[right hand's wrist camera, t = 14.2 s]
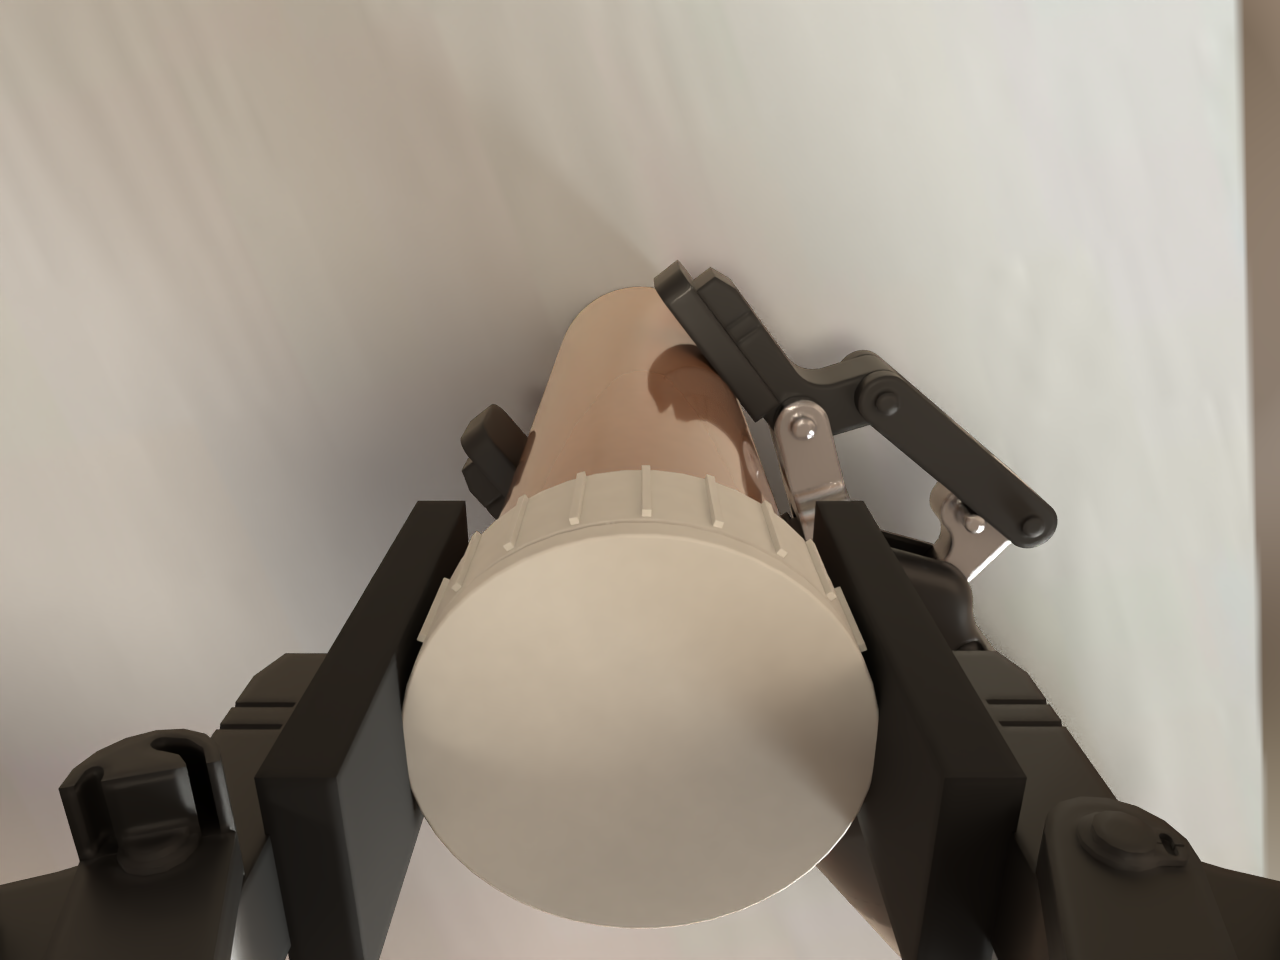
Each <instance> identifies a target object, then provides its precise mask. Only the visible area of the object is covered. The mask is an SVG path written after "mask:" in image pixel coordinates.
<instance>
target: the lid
mask: <svg viewBox="0 0 1280 960" xmlns="http://www.w3.org/2000/svg"><path fill="white" fill-rule="evenodd" d="M417 640H418V641H420V642H423V645H422V647H421V649H420V651H419V654H418V656H417V658H416V661H415V664H414V666H413V669H412V672H411V674H410V677H409V680H408V682H407V685H406V690H405V695H404V700H403V705H402V721H403V732H404V740H405V749H406V757H407V766H408V774H409V781H410V787H411V790H412V792H413V794H414V797H415V799H416V801H417V803H418V805H419V808H420V810H421V812H422V814H423V815H424V817H425V818H426V820H427V822H428V823H429V825H430V826H431V828H432V829H433V831H434V832H435V834H436V835H437V836H438V838H439V839H440V840H441V841H442V842H443V844H444V845H445V846H446V847H447V848H448V849H449V851H450V852H451V853H452V854H453V855H454V856H455V857H456V858H457V859H458V860H459V861H460V862H462V863H463V864H464V865H465V866H466V867H467V868H468V869H469V870H470V871H471V872H473V873H474V874H475V875H477V876H478V877H479V878H481V879H482V880H484V881H485V882H486V883H488V884H489V885H491V886H492V887H493V888H495V889H497V890H499V891H500V892H502V893H504V894H506V895H508V896H509V897H511V898H513V899H515V900H517V901H518V902H521V903H523V904H526V905H528V906H530V907H533V908H535V909H537V910H540V911H542V912H545V913H548V914H551V915H555V916H558V917H561V918H564V919H568V920H571V921H576V922H581V923H586V924H592V925H597V926H605V927H616V928H626V929H648V928H665V927H675V926H684V925H689V924H694V923H699V922H704V921H709V920H713V919H716V918H719V917H722V916H726V915H729V914H732V913H735V912H738V911H741V910H743V909H745V908H748V907H750V906H752V905H755V904H757V903H759V902H762V901H764V900H766V899H767V898H769V897H771V896H773V895H774V894H776V893H778V892H780V891H781V890H783V889H785V888H787V887H788V886H790V885H791V884H792V883H794V882H795V881H796V880H798V879H799V878H801V877H802V876H803V875H805V874H806V873H808V872H809V871H810V870H811V869H812V868H813V867H814V866H815V865H816V864H818V863H819V862H820V861H821V860H822V859H823V858H824V857H825V856H826V855H827V854H828V853H829V852H830V851H831V850H832V849H833V847H834V846H835V845H836V844H837V843H838V841H839V840H840V839H841V838H842V837H843V835H844V834H845V833H846V831H847V830H848V828H849V827H850V825H851V823H852V822H853V820H854V819H855V817H856V815H857V814H858V812H859V810H860V808H861V806H862V804H863V801H864V799H865V797H866V795H867V792H868V790H869V788H870V784H871V780H872V773H873V766H874V757H875V749H876V740H877V731H878V720H879V709H878V704H877V700H876V695H875V690H874V685H873V682H872V679H871V677H870V674H869V671H868V669H867V666H866V664H865V661H864V658H863V656H862V654H861V652H863V651H866V650H867V647H866V645H865V642H864V640H863V638H862V636H861V633H860V631H859V629H858V626H857V624H856V622H855V619H854V617H853V615H852V613H851V610H850V608H849V606H848V603H847V601H846V599H845V596H844V594H843V592H842V590H841V587H837V588H834V587H833V584H832V582H831V580H830V578H829V576H828V574H827V572H826V569H825V567H824V565H823V562H822V560H821V557H820V555H819V553H818V550H817V548H816V546H815V543H814V542H813V541H812V540H811V539H809V540H808V541H806V542H805V541H804V539H803V538H802V537H801V536H800V535H799V534H798V533H797V532H796V531H795V530H794V529H793V528H792V527H790V526H789V525H788V524H787V523H786V522H785V521H784V520H783V519H782V518H780V517H779V516H778V515H776V514H775V513H774V511H773V508H772V506H771V504H770V503H769V502H767V501H766V500H764V501H763V502H762V504H761V503H759V502H757V501H755V500H754V499H752V498H750V497H748V496H746V495H744V494H742V493H741V492H739V491H737V490H734V489H732V488H729V487H726V486H724V485H721V484H719V483H716V482H715V478H714V476H711V475H708V474H707V475H706V477H705V479H703V478H699V477H695V476H691V475H687V474H682V473H674V472H666V471H657V470H650V465H642V470H622V471H614V472H606V473H599V474H593V475H589V476H586V473H585V471H584V472H580V473H577V476H576V479H574V480H570V481H566V482H564V483H561V484H559V485H556V486H554V487H551V488H549V489H546V490H544V491H541V492H539V493H538V494H536V495H534V496H532V497H530V498H528V497H527V496H526V495H525V494H524V495H523V496H521V497H519V498H518V501H517V504H516V506H515V507H513V508H512V509H511V510H509V511H508V512H507V513H505V514H504V515H503V516H501V517H500V518H499V519H497V520H496V521H495V522H494V523H493V524H492V525H491V526H490V527H489V528H488V529H487V530H486V531H484V532H483V533H482V534H480V533H479V532H478V531H476V532H475V533H474V534H473V535H472V537H471V540H470V542H469V545H468V547H467V550H466V552H465V554H464V556H463V558H462V559H461V560H460V562H459V564H458V566H457V568H456V569H455V571H454V573H453V575H452V577H451V578H450V579H447V578H444V579H443V581H442V583H441V585H440V588H439V590H438V592H437V594H436V597H435V599H434V601H433V604H432V606H431V608H430V611H429V613H428V615H427V617H426V620H425V622H424V624H423V627H422V629H421V631H420V634H419V636H418V638H417Z"/></svg>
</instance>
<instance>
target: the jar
mask: <svg viewBox="0 0 1280 960" xmlns="http://www.w3.org/2000/svg"><path fill="white" fill-rule="evenodd" d="M642 465H650V470H657V471H666V472H674V473H682V474H687V475H691V476H695V477H699V478H703V479H705V477H706V475H707V474H708V475H711V476H714V478H715V482H716V483H719V484H721V485H724V486H726V487H729V488H732V489H734V490H737V491H739V492H741V493H742V494H744V495H746V496H748V497H750V498H752V499H754V500H755V501H757V502H759V503H761V504H762V502H763V501H764V500H766V501H767V502H769V503H770V504H771V506H772V508H773V511H774V513H775V514H776V515H778V516H779V517H780V518H781V516H780V513H779V511H778V508H777V505H776V502H775V500H774V497H773V494H772V491H771V488H770V486H769V483H768V480H767V477H766V475H765V472H764V469H763V466H762V464H761V461H760V458H759V455H758V452H757V450H756V447H755V444H754V441H753V439H752V436H751V433H750V430H749V428H748V425H747V422H746V419H745V416H744V414H743V411H742V408H741V405H740V403H739V401H738V399H737V398H736V397H735V395H734V394H733V392H732V391H731V389H730V388H729V387H728V385H727V384H726V383H725V382H724V381H723V380H722V378H721V377H720V376H719V374H718V373H717V372H716V370H715V369H714V368H713V367H712V365H711V364H710V363H709V361H708V360H707V359H706V357H705V356H704V355H703V353H702V352H701V351H700V350H699V348H698V347H697V346H696V344H695V343H694V342H693V340H692V339H691V338H690V336H689V335H688V334H687V333H686V331H685V330H684V329H683V327H682V326H681V325H680V323H679V322H678V321H677V319H676V318H675V317H674V316H673V314H672V313H671V312H670V310H669V309H668V308H667V306H666V305H665V304H664V302H663V301H662V299H661V298H660V296H659V295H658V293H657V291H656V290H655V288H651V287H630V288H624V289H619V290H615V291H613V292H610V293H607V294H605V295H603V296H601V297H599V298H597V299H596V300H594V301H593V302H592V303H590V304H589V305H587V306H586V307H585V308H584V309H583V310H582V311H581V312H580V313H579V314H578V315H577V317H576V318H575V319H574V320H573V322H572V323H571V325H570V327H569V328H568V330H567V332H566V334H565V336H564V339H563V341H562V344H561V347H560V350H559V352H558V355H557V358H556V361H555V363H554V366H553V369H552V372H551V374H550V377H549V380H548V383H547V386H546V388H545V391H544V394H543V397H542V399H541V402H540V405H539V408H538V410H537V413H536V416H535V419H534V422H533V424H532V427H531V430H530V433H529V435H528V438H527V441H526V444H525V446H524V449H523V452H522V455H521V458H520V460H519V463H518V466H517V469H516V471H515V474H514V477H513V480H512V482H511V485H510V488H509V491H508V494H507V496H506V499H505V502H504V505H503V507H502V510H501V513H500V516H499V518H500V517H501V516H503V515H504V514H505V513H507V512H508V511H509V510H511V509H512V508H513V507H515V506H516V504H517V501H518V498H519V497H521V496H523V495H524V494H525V495H526V496H527V497H528V498H530V497H532V496H534V495H536V494H538V493H539V492H541V491H544V490H546V489H549V488H551V487H554V486H556V485H559V484H561V483H564V482H566V481H570V480H574V479H576V476H577V473H580V472H584V471H585V473H586V476H589V475H593V474H599V473H606V472H614V471H622V470H642ZM499 518H498V519H499Z"/></svg>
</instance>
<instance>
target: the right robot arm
mask: <svg viewBox="0 0 1280 960" xmlns="http://www.w3.org/2000/svg"><path fill="white" fill-rule="evenodd" d="M813 542H814V543H815V546H816V548H817V550H818V553H819V555H820V557H821V560H822V562H823V565H824V567H825V569H826V572H827V574H828V576H829V578H830V580H831V582H832V584H833V587H834V588H837V587H841V590H842V592H843V594H844V596H845V599H846V601H847V603H848V606H849V608H850V610H851V613H852V615H853V617H854V619H855V622H856V624H857V626H858V629H859V631H860V633H861V636H862V638H863V640H864V642H865V645H866V647H867V650H866V651H863V652H861V654H862V656H863V658H864V661H865V664H866V666H867V669H868V671H869V674H870V677H871V679H872V682H873V685H874V690H875V695H876V700H877V704H878V709H879V720H878V731H877V740H876V749H875V757H874V766H873V773H872V780H871V784H870V788H869V790H868V792H867V795H866V797H865V799H864V801H863V804H862V806H861V808H860V810H859V812H858V814H857V817H858V821H859V824H860V827H861V830H862V833H863V837H864V840H865V843H866V846H867V849H868V853H869V856H870V859H871V862H872V865H873V869H874V872H875V875H876V878H877V881H878V885H879V888H880V891H881V894H882V897H883V901H884V904H885V907H886V910H887V913H888V916H889V920H890V923H891V926H892V929H893V932H894V936H895V939H896V942H897V945H898V948H899V952H900V955H901V958H902V960H992V955H993V950H994V952H995V954H996V957H997V959H998V960H1280V881H1276V880H1272V879H1268V878H1263V877H1259V876H1255V875H1250V874H1246V873H1241V872H1237V871H1233V870H1228V869H1224V868H1221V867H1218V866H1214V865H1211V864H1208V863H1204V862H1201V861H1200V859H1199V857H1198V856H1197V854H1196V853H1195V851H1194V850H1193V848H1192V847H1191V845H1190V843H1189V842H1188V840H1187V839H1186V838H1185V837H1183V836H1182V835H1181V834H1180V833H1179V832H1177V831H1176V830H1175V829H1174V828H1173V827H1171V826H1170V825H1169V824H1168V823H1167V822H1165V821H1164V820H1162V819H1160V818H1158V817H1156V816H1155V815H1153V814H1151V813H1149V812H1147V811H1145V810H1143V809H1141V808H1139V807H1137V806H1134V805H1131V804H1127V803H1124V802H1120V801H1118V800H1117V799H1116V797H1115V796H1114V795H1113V793H1112V792H1111V790H1110V789H1109V788H1108V786H1107V785H1106V783H1105V782H1104V781H1103V779H1102V778H1101V776H1100V775H1099V773H1098V772H1097V771H1096V769H1095V768H1094V766H1093V765H1092V764H1091V762H1090V761H1089V759H1088V758H1087V756H1086V755H1085V754H1084V752H1083V751H1082V749H1081V748H1080V747H1079V745H1078V744H1077V742H1076V741H1075V740H1074V738H1073V737H1072V735H1071V734H1070V732H1069V731H1068V730H1067V728H1066V727H1062V724H1061V720H1060V718H1059V717H1058V715H1057V714H1056V713H1055V711H1054V710H1053V708H1052V707H1051V706H1050V705H1047V704H1046V699H1045V697H1044V696H1043V694H1042V693H1041V691H1040V690H1039V689H1038V687H1037V686H1036V684H1035V683H1034V682H1033V680H1032V679H1031V677H1030V676H1029V674H1028V673H1027V672H1025V671H1024V670H1022V669H1021V668H1020V667H1018V666H1017V665H1015V664H1014V663H1012V662H1011V661H1010V660H1008V659H1007V658H1005V657H1004V656H1003V655H1001V654H1000V653H998V652H997V651H952V650H951V648H950V647H949V645H948V643H947V642H946V640H945V638H944V637H943V635H942V633H941V632H940V630H939V628H938V627H937V625H936V623H935V621H934V620H933V618H932V616H931V615H930V613H929V611H928V610H927V608H926V606H925V605H924V603H923V601H922V600H921V598H920V596H919V594H918V593H917V591H916V589H915V588H914V586H913V584H912V583H911V581H910V579H909V578H908V576H907V574H906V573H905V571H904V569H903V567H902V566H901V564H900V562H899V561H898V559H897V557H896V556H895V554H894V552H893V551H892V549H891V547H890V546H889V544H888V542H887V540H886V539H885V537H884V535H883V534H882V532H881V530H880V529H879V527H878V525H877V524H876V522H875V520H874V519H873V517H872V515H871V514H870V512H869V510H868V508H867V507H866V505H865V503H864V502H863V501H816V504H815V517H814V530H813ZM468 545H469V543H468V530H467V517H466V504H465V501H418V502H417V503H416V505H415V507H414V508H413V510H412V512H411V513H410V515H409V517H408V519H407V520H406V522H405V524H404V525H403V527H402V529H401V530H400V532H399V534H398V535H397V537H396V539H395V540H394V542H393V544H392V546H391V547H390V549H389V551H388V552H387V554H386V556H385V557H384V559H383V561H382V562H381V564H380V566H379V567H378V569H377V571H376V573H375V574H374V576H373V578H372V579H371V581H370V583H369V584H368V586H367V588H366V589H365V591H364V593H363V594H362V596H361V598H360V600H359V601H358V603H357V605H356V606H355V608H354V610H353V611H352V613H351V615H350V616H349V618H348V620H347V621H346V623H345V625H344V627H343V628H342V630H341V632H340V633H339V635H338V637H337V638H336V640H335V642H334V643H333V645H332V647H331V648H330V650H329V652H328V653H286V654H284V655H283V656H281V657H280V658H278V659H277V660H276V661H274V662H273V663H271V664H270V665H269V666H267V667H266V668H264V669H263V670H262V671H260V672H259V673H257V674H256V675H255V676H254V677H253V678H252V679H251V681H250V682H249V684H248V685H247V687H246V688H245V689H244V691H243V692H242V694H241V695H240V697H239V698H238V699H237V701H236V702H235V703H236V705H235V707H232V708H231V709H230V711H229V712H228V714H227V715H226V716H225V718H224V719H223V721H222V722H221V724H220V729H219V730H216V731H215V732H214V734H213V735H212V736H211V738H210V737H209V736H208V735H206V734H204V733H200V732H195V731H191V730H187V729H171V730H155V731H152V732H148V733H144V734H140V735H136V736H132V737H128V738H125V739H123V740H121V741H119V742H116V743H114V744H112V745H110V746H108V747H106V748H103V749H101V750H99V751H97V752H96V753H94V754H93V755H91V756H90V757H89V758H87V759H86V760H85V761H83V762H82V763H81V764H79V765H78V766H77V767H75V768H74V769H73V770H72V771H71V773H70V774H69V775H68V777H67V778H66V779H65V781H64V782H63V783H62V785H61V786H60V787H59V792H60V795H61V799H62V802H63V806H64V809H65V812H66V816H67V819H68V823H69V826H70V829H71V833H72V836H73V839H74V843H75V846H76V850H77V853H78V856H79V860H80V862H79V865H78V866H76V867H72V868H69V869H66V870H62V871H59V872H55V873H51V874H46V875H42V876H38V877H33V878H29V879H25V880H20V881H16V882H12V883H7V884H3V885H0V960H285V959H286V956H287V954H288V955H289V960H379V958H380V955H381V951H382V948H383V945H384V942H385V939H386V935H387V932H388V929H389V926H390V923H391V919H392V916H393V913H394V910H395V907H396V903H397V900H398V897H399V894H400V891H401V887H402V884H403V881H404V878H405V875H406V872H407V868H408V865H409V862H410V859H411V856H412V852H413V849H414V846H415V843H416V840H417V836H418V833H419V830H420V827H421V824H422V820H423V817H424V815H423V814H422V812H421V810H420V808H419V805H418V803H417V801H416V799H415V797H414V794H413V792H412V790H411V787H410V781H409V774H408V766H407V757H406V749H405V740H404V732H403V721H402V705H403V700H404V695H405V690H406V685H407V682H408V680H409V677H410V674H411V672H412V669H413V666H414V664H415V661H416V658H417V656H418V654H419V651H420V649H421V647H422V645H423V642H420V641H418V640H417V638H418V636H419V634H420V631H421V629H422V627H423V624H424V622H425V620H426V617H427V615H428V613H429V611H430V608H431V606H432V604H433V601H434V599H435V597H436V594H437V592H438V590H439V588H440V585H441V583H442V581H443V579H444V578H447V579H450V578H451V577H452V575H453V573H454V571H455V569H456V568H457V566H458V564H459V562H460V560H461V559H462V558H463V556H464V554H465V552H466V550H467V547H468Z"/></svg>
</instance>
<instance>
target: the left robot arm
mask: <svg viewBox="0 0 1280 960" xmlns="http://www.w3.org/2000/svg"><path fill="white" fill-rule="evenodd" d="M654 286H655V290H656V291H657V293H658V295H659V296H660V298H661V299H662V301H663V302H664V304H665V305H666V306H667V308H668V309H669V310H670V312H671V313H672V314H673V316H674V317H675V318H676V319H677V321H678V322H679V323H680V325H681V326H682V327H683V329H684V330H685V331H686V333H687V334H688V335H689V336H690V338H691V339H692V340H693V342H694V343H695V344H696V346H697V347H698V348H699V350H700V351H701V352H702V353H703V355H704V356H705V357H706V359H707V360H708V361H709V363H710V364H711V365H712V367H713V368H714V369H715V370H716V372H717V373H718V374H719V376H720V377H721V378H722V380H723V381H724V382H725V383H726V384H727V385H728V387H729V388H730V389H731V391H732V392H733V394H734V395H735V397H736V398H737V399H738V401H739V402H740V403H741V404H742V406H743V407H744V408H745V410H746V411H747V412H748V414H749V415H750V416H751V418H752V419H753V420H754V421H755V422H757V421H758V420H760V419H761V418H762V417H763V418H764V419H765V420H766V422H767V423H768V425H769V429H770V432H771V436H772V440H773V444H774V447H775V451H776V455H777V458H778V462H779V469H780V473H781V477H782V480H783V484H784V488H785V491H786V495H787V499H788V502H789V506H790V510H791V513H792V517H793V518H791V517H790V516H789V514H788V513H787V512H786V513H784V514H783V515H781V518H782V519H783V520H784V521H785V522H786V523H787V524H788V525H789V526H790V527H792V528H793V529H794V530H795V531H796V532H797V533H798V534H799V535H800V536H801V537H802V538H803V539H804V541H805V542H806V541H808V540H809V539H811V540H812V541H813V530H814V517H815V504H816V501H850V498H849V495H848V492H847V490H846V487H845V484H844V480H843V476H842V472H841V468H840V464H839V460H838V455H837V451H836V447H835V443H834V439H833V435H837V434H840V433H843V432H847V431H850V430H853V429H857V428H860V427H864V426H867V425H871V426H872V427H873V428H875V429H876V430H877V431H878V432H879V433H881V434H882V435H883V436H884V437H885V438H887V439H888V440H889V441H890V442H891V443H893V444H894V445H895V446H896V447H897V448H899V449H900V450H901V451H902V452H903V453H905V454H906V455H907V456H908V457H909V458H911V459H912V460H913V461H914V462H915V463H917V464H918V465H919V466H920V467H921V468H923V469H924V470H925V471H926V472H927V473H929V474H930V475H931V476H932V477H933V478H935V479H936V480H937V481H938V482H937V483H936V485H935V486H934V488H933V489H932V491H931V494H930V500H929V501H930V506H931V509H932V510H933V512H934V513H935V514H936V516H937V517H938V518H939V520H940V523H941V532H940V535H939V538H938V539H937V541H936V542H935V543H934V544H931V543H928V542H925V541H921V540H917V539H913V538H910V537H906V536H902V535H899V534H895V533H891V532H888V531H884V530H881V532H882V534H883V535H884V537H885V539H886V540H887V542H888V544H889V546H890V547H891V549H892V551H893V552H894V554H895V556H896V557H897V559H898V561H899V562H900V564H901V566H902V567H903V569H904V571H905V573H906V574H907V576H908V578H909V579H910V581H911V583H912V584H913V586H914V588H915V589H916V591H917V593H918V594H919V596H920V598H921V600H922V601H923V603H924V605H925V606H926V608H927V610H928V611H929V613H930V615H931V616H932V618H933V620H934V621H935V623H936V625H937V627H938V628H939V630H940V632H941V633H942V635H943V637H944V638H945V640H946V642H947V643H948V645H949V647H950V648H951V650H952V651H995V650H994V648H993V647H992V646H991V644H990V643H989V642H988V640H987V639H986V638H985V636H984V635H983V634H982V632H981V631H980V629H979V628H978V627H977V625H976V623H975V620H974V616H973V595H972V590H971V587H970V584H969V581H970V580H971V579H972V578H973V577H974V576H975V575H977V574H978V573H979V572H980V571H981V570H982V569H983V568H984V567H985V566H986V565H987V564H988V563H989V562H990V561H991V560H992V559H994V558H995V557H996V556H997V555H998V554H999V553H1000V552H1001V551H1002V550H1003V549H1004V548H1005V547H1006V546H1007V545H1008V544H1009V543H1010V542H1011V543H1013V544H1014V545H1016V546H1018V547H1022V548H1033V547H1037V546H1040V545H1042V544H1043V543H1045V542H1046V541H1048V540H1049V539H1050V538H1051V536H1052V535H1053V534H1054V532H1055V530H1056V527H1057V515H1056V513H1055V511H1054V509H1053V508H1052V507H1051V506H1050V505H1049V504H1047V503H1046V502H1045V501H1044V500H1043V499H1042V498H1041V497H1040V496H1039V495H1038V494H1037V493H1036V492H1035V491H1033V490H1032V489H1031V488H1030V487H1029V486H1028V485H1027V484H1026V483H1025V482H1024V481H1023V480H1022V479H1020V478H1019V477H1018V476H1017V475H1016V474H1015V473H1014V472H1013V471H1012V470H1011V469H1010V468H1008V467H1007V466H1006V465H1005V464H1004V463H1003V462H1001V461H1000V460H999V459H998V458H997V457H996V456H994V455H993V454H992V453H991V452H990V451H989V450H987V449H986V448H985V447H984V446H983V445H982V444H980V443H979V442H978V441H977V440H976V439H975V438H973V437H972V436H971V435H970V434H969V433H968V432H967V431H965V430H964V429H963V428H962V427H961V426H960V425H958V424H957V423H956V422H955V421H954V420H953V419H951V418H950V417H949V416H948V415H947V414H946V413H944V412H943V411H942V410H941V409H940V408H939V407H937V406H936V405H935V404H934V403H933V402H932V401H930V400H929V399H928V398H927V397H926V396H925V395H923V394H922V393H921V392H920V391H919V390H918V389H917V388H915V387H914V386H913V385H912V384H911V383H910V382H908V381H907V380H906V379H905V378H904V377H903V376H901V375H900V374H899V373H898V372H897V371H896V370H894V369H893V368H892V367H891V366H890V365H889V364H887V363H886V362H885V361H884V360H883V359H882V358H880V357H879V356H878V355H877V354H875V353H873V352H871V351H867V350H859V351H855V352H853V353H850V354H849V355H847V356H846V357H845V358H844V359H843V360H842V361H841V362H840V363H837V364H834V365H830V366H827V367H824V368H820V369H805V368H802V367H799V366H797V365H795V364H794V363H793V362H791V361H790V360H789V359H788V357H787V356H786V355H785V354H784V352H783V351H782V349H781V348H780V347H779V345H778V344H777V343H776V341H775V340H774V338H773V337H772V336H771V334H770V333H769V332H768V330H767V329H766V327H765V326H764V325H763V323H762V322H761V321H760V319H759V318H758V317H757V315H756V314H755V313H754V311H753V310H752V308H751V307H750V306H749V304H748V303H747V301H746V300H745V299H744V297H743V296H742V295H741V293H740V292H739V291H738V289H737V288H736V286H735V285H734V284H733V282H732V281H731V280H730V279H729V278H728V277H726V276H724V275H723V274H721V273H719V272H718V271H716V270H714V269H713V268H711V267H710V268H708V269H707V270H706V271H705V272H703V273H702V274H701V275H699V276H698V277H697V278H696V279H694V280H693V279H692V277H691V276H690V275H689V273H688V272H687V271H686V269H685V268H684V267H683V265H682V264H681V263H680V262H679V261H678V260H677V261H676V262H674V263H673V264H672V265H670V266H669V267H668V268H667V269H665V270H664V271H663V272H662V273H660V274H659V275H658V276H656V277H655V278H654ZM527 438H528V437H527V436H526V435H525V434H524V433H523V432H522V431H521V429H520V428H519V427H518V426H517V425H516V424H515V423H514V421H513V420H512V419H511V418H510V417H509V416H508V414H507V413H506V412H505V411H504V410H503V409H501V408H500V407H499V406H497V405H495V404H492V405H491V406H489V407H488V408H487V409H486V410H484V411H483V412H482V413H481V414H479V415H478V416H477V417H475V418H474V419H473V420H472V421H471V422H470V423H469V425H468V427H467V428H466V430H465V432H464V434H463V435H462V437H461V444H462V447H463V449H464V451H465V452H466V454H467V455H468V457H469V458H468V460H467V462H466V463H465V465H464V467H463V469H462V472H463V475H464V477H465V480H466V483H467V485H468V488H469V490H470V492H471V493H472V494H473V495H474V496H475V497H476V498H477V499H478V501H479V502H480V503H481V504H482V505H483V506H484V507H486V508H487V510H488V511H489V513H490V514H491V515H492V516H493V517H494V518H495V519H496V520H497V519H498V518H499V516H500V513H501V510H502V507H503V505H504V502H505V499H506V496H507V494H508V491H509V488H510V485H511V482H512V480H513V477H514V474H515V471H516V469H517V466H518V463H519V460H520V458H521V455H522V452H523V449H524V446H525V444H526V441H527ZM816 866H817V867H818V869H819V870H820V871H821V872H822V873H823V874H824V875H825V876H826V877H827V878H828V879H829V881H830V882H831V883H832V884H833V885H834V886H835V887H836V888H837V889H838V890H839V891H840V893H841V894H842V895H843V896H844V897H845V898H846V899H847V900H848V901H849V902H850V904H851V905H852V906H853V907H854V908H855V909H856V910H857V911H858V912H859V913H860V914H861V915H862V916H863V918H864V919H865V920H866V921H867V922H868V923H869V924H870V925H871V926H872V927H873V928H874V930H875V931H876V932H877V933H878V934H879V935H880V936H881V937H882V938H883V939H884V940H885V942H886V943H887V944H888V945H889V946H890V947H891V948H892V949H893V950H894V951H895V952H896V953H897V954H898V955H899V956H900V957H901V955H900V952H899V948H898V945H897V942H896V939H895V936H894V932H893V929H892V926H891V923H890V920H889V916H888V913H887V910H886V907H885V904H884V901H883V897H882V894H881V891H880V888H879V885H878V881H877V878H876V875H875V872H874V869H873V865H872V862H871V859H870V856H869V853H868V849H867V846H866V843H865V840H864V837H863V833H862V830H861V827H860V824H859V821H858V817H857V815H856V817H855V819H854V820H853V822H852V823H851V825H850V827H849V828H848V830H847V831H846V833H845V834H844V835H843V837H842V838H841V839H840V840H839V841H838V843H837V844H836V845H835V846H834V847H833V849H832V850H831V851H830V852H829V853H828V854H827V855H826V856H825V857H824V858H823V859H822V860H821V861H820V862H819V863H818V864H816ZM992 960H998V959H997V957H996V954H995V952H994V950H993V955H992Z"/></svg>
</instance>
